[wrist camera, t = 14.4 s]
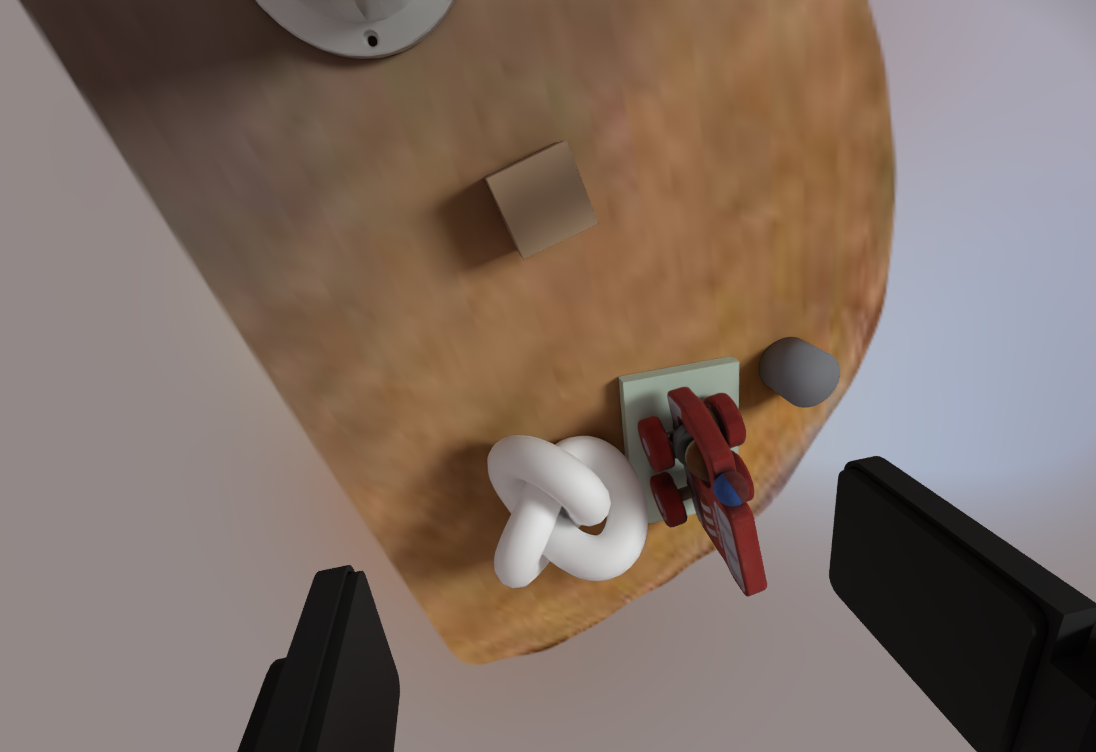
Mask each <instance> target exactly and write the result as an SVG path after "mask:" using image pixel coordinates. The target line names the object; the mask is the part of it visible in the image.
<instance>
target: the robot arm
mask: <svg viewBox="0 0 1096 752" xmlns="http://www.w3.org/2000/svg"><path fill="white" fill-rule="evenodd" d="M255 1H256V2H257V3H258V4H259V5H260V6H261V7H262V8H263V9H264V10H265V11H266V12H267V13H268V14H269V15H270V16H271V17H272V18H273V19H274V20H275V21H276V22H277V23H278V24H279V25H281V26H282V27H283V28H285V29H286V30H287V31H289V32H290V33H291V34H293V35H294V36H296V37H297V38H299V39H301V40H303V41H304V42H306V43H308V44H310V45H311V46H313V47H315V48H317V49H320V50H323V51H326V52H328V53H331V54H334V55H337V56H342V57H349V58H356V59H372V58H383V57H387V56H390V55H394V54H397V53H401V52H403V51H405V50H407V49H409V48H411V47H412V46H414V45H416V44H418V43H420V42H421V41H422V40H424V39H425V38H426V37H427V36H428V35H429V34H430V33H431V32H433V31H434V30H435V29H436V28H437V27H438V25H439V24H440V23H441V21H442V20H443V19H444V17H445V16H446V15H447V13H448V12H449V11H450V9H451V7H452V5H453V3H454V0H255ZM371 37H374V38H376V39H377V45H376V46H374V47H372V46H370V45H369V39H370V38H371ZM831 549H832V550H831V559H830V569H829V578H830V583H831V585H832V587H833V589H834V591H835V592H836V594H837V595H838V596H839V597H840V598H841V600H842V601H843V602H844V603H845V604H846V605H847V606H848V608H849V609H850V610H851V611H852V612H853V613H854V614H855V615H856V616H857V618H858V619H859V620H860V621H861V622H862V623H863V624H864V626H865V627H866V628H867V629H868V630H869V631H870V632H871V633H872V635H873V636H874V637H875V638H876V639H877V640H878V641H879V642H880V644H881V645H882V646H883V647H884V648H885V649H886V650H887V651H888V653H889V654H890V655H891V656H892V657H893V658H894V659H895V660H896V661H897V663H898V664H899V665H900V666H901V667H902V668H903V669H904V671H905V672H906V673H907V674H908V675H909V676H910V677H911V678H912V680H913V681H914V682H915V683H916V684H917V685H918V686H919V687H920V688H921V690H922V691H923V692H924V693H925V694H926V695H927V696H928V698H930V700H931V701H932V702H933V703H934V704H935V705H936V707H937V708H938V709H939V710H940V711H941V712H942V713H943V714H944V716H945V717H946V718H947V719H948V720H949V721H950V722H951V723H952V725H953V726H954V727H955V728H956V729H957V730H958V731H959V733H961V735H962V736H963V737H964V738H965V739H966V740H967V741H968V743H969V744H970V745H971V746H972V747H973V748H974V749H975V750H976V751H977V752H1096V603H1095V602H1093V601H1092V600H1091V599H1089V598H1088V597H1086V596H1085V595H1083V594H1082V593H1080V592H1079V591H1077V590H1076V589H1075V588H1073V587H1072V586H1070V585H1069V584H1067V583H1066V582H1064V581H1063V580H1061V579H1060V578H1058V577H1057V576H1056V575H1054V574H1053V573H1051V572H1050V571H1048V570H1047V569H1045V568H1044V567H1042V566H1041V565H1039V564H1038V563H1037V562H1035V561H1034V560H1032V559H1031V558H1029V557H1028V556H1026V555H1025V554H1023V553H1022V552H1020V551H1019V550H1017V549H1016V548H1015V547H1013V546H1012V545H1010V544H1009V543H1007V542H1006V541H1004V540H1003V539H1001V538H1000V537H998V536H997V535H996V534H994V533H993V532H991V531H990V530H988V529H987V528H985V527H984V526H982V525H981V524H979V523H978V522H977V521H975V520H973V519H972V518H971V517H969V516H967V515H966V514H965V513H963V512H962V511H960V510H959V509H957V508H956V507H954V506H953V505H952V504H950V503H949V502H947V501H946V500H944V499H943V498H941V497H940V496H938V495H937V494H936V493H934V492H933V491H931V490H930V489H928V488H927V487H925V486H924V485H922V484H921V483H919V482H918V481H916V480H915V479H913V478H912V477H911V476H909V475H908V474H906V473H905V472H903V471H902V470H900V469H899V468H897V467H896V466H894V465H893V464H891V463H890V462H889V461H887V460H886V459H884V458H882V457H880V456H873V457H869V458H864V459H859V460H854V461H850V462H848V463H847V464H846V465H845V468H844V470H843V471H841V472H840V473H839V476H838V485H837V495H836V506H835V516H834V527H833V538H832V548H831ZM399 697H400V685H399V677H398V672H397V669H396V666H395V663H394V660H393V657H392V654H391V651H390V648H389V645H388V642H387V639H386V636H385V633H384V630H383V627H382V624H381V621H380V618H379V615H378V612H377V609H376V605H375V602H374V599H373V597H372V593H371V590H370V587H369V584H368V581H367V578H366V575H365V573H364V572H363V571H358V572H355V571H354V569H353V567H352V566H351V565H347V566H342V567H337V568H332V569H327V570H322V571H318V572H317V573H316V575H315V577H314V579H313V582H312V585H311V588H310V591H309V594H308V596H307V599H306V602H305V605H304V608H303V611H302V614H301V617H300V620H299V623H298V625H297V628H296V631H295V634H294V637H293V640H292V643H291V646H290V648H289V651H288V654H287V657H286V658H282V659H277V660H275V661H274V662H273V663H272V664H271V666H270V668H269V670H268V672H267V674H266V677H265V679H264V682H263V685H262V687H261V690H260V693H259V695H258V698H257V701H256V703H255V707H254V709H253V711H252V714H251V717H250V719H249V722H248V725H247V728H246V730H245V733H244V735H243V738H242V741H241V743H240V746H239V749H238V751H237V752H394V743H395V733H396V723H397V714H398V705H399Z"/></svg>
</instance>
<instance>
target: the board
mask: <svg viewBox="0 0 1096 752" xmlns="http://www.w3.org/2000/svg"><path fill="white" fill-rule="evenodd" d="M618 378H619V390H620V402H621V414H622V426H623V438H624V450H625V457H626V458H627V459H628V461H629V462H630V463H631V465H632V466H633V467H634V469H635V471H636V473H637V475H638V477H639V478H640V480H641V483H642V486H643V489H644V492H645V496H646V502H647V508H648V524H649V523H654V522H658V521H663V518H662V516H661V514H660V512H659V510H658V507H657V505H656V502H655V499H654V497H653V494H652V490H651V486H650V478H651V477H652V476H654V475H657V474H660V473H662V472H667V473H669V474H670V475H671V476H672V478H673V480H674V483H675V485H676V486H677V488H678V489H679V488H682V487H685V486H687V476H686V471H685V468H684V465H683V464H682V463H681V462H680V461H679V460H678V459H677V458H675V466H674V467H673V468H671V469H668V470H665V471H662V472H656V471H654V470H653V468H652V467H651V465H650V463H649V461H648V459H647V457H646V454H645V452H644V449H643V446H642V443H641V440H640V437H639V433H638V422H639V421H640V420H642V419H645V418H648V417H651V416H656V417H658V418H659V419H660V421H661V422H662V425H663V427H664V429H665V431H666V432H669V431H674V430H673V420H672V415H671V412H670V407H669V404H668V398H667V393H668V391H670V390H674V389H677V388H681V387H689V388H690V389H691V390H692V391H693V393H694V394H695V395H696V396H697V397H698V398H699V399H700V400H701V401H702V402H704V399H705V398H707V397H709V396H711V395H714V394H717V393H726V394H728V395H729V396H730V397H731V398H732V400H733V401H734V402H735V404H736V405H737V407H738V409H739V361H738V360H736V359H735V358H734V357H732V356H730V357H724V358H719V359H713V360H708V361H702V362H697V363H691V364H686V365H680V366H675V367H669V368H664V369H658V370H653V371H647V372H642V373H636V374H631V375H625V376H620V377H618ZM731 450H732V451H734V452H735V453H737V454H738V446H736V447H733V448H731ZM683 503H684V506H685V509H686V512H687V515H692V514H696V511H695V508H694V504H693V500H692V498H691V499H688V500H685V501H683Z"/></svg>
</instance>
